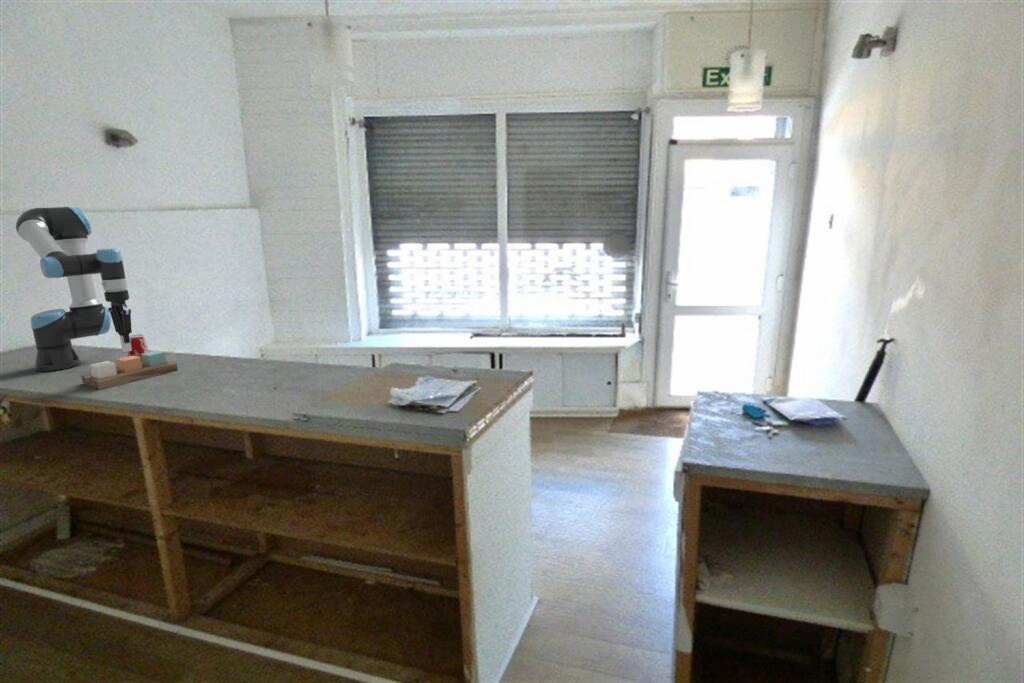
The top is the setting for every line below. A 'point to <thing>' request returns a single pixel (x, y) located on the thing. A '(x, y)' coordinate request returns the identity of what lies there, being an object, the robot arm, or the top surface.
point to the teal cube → (153, 358)
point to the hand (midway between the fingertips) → (127, 350)
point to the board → (129, 375)
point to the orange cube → (129, 364)
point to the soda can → (137, 346)
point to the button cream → (103, 369)
